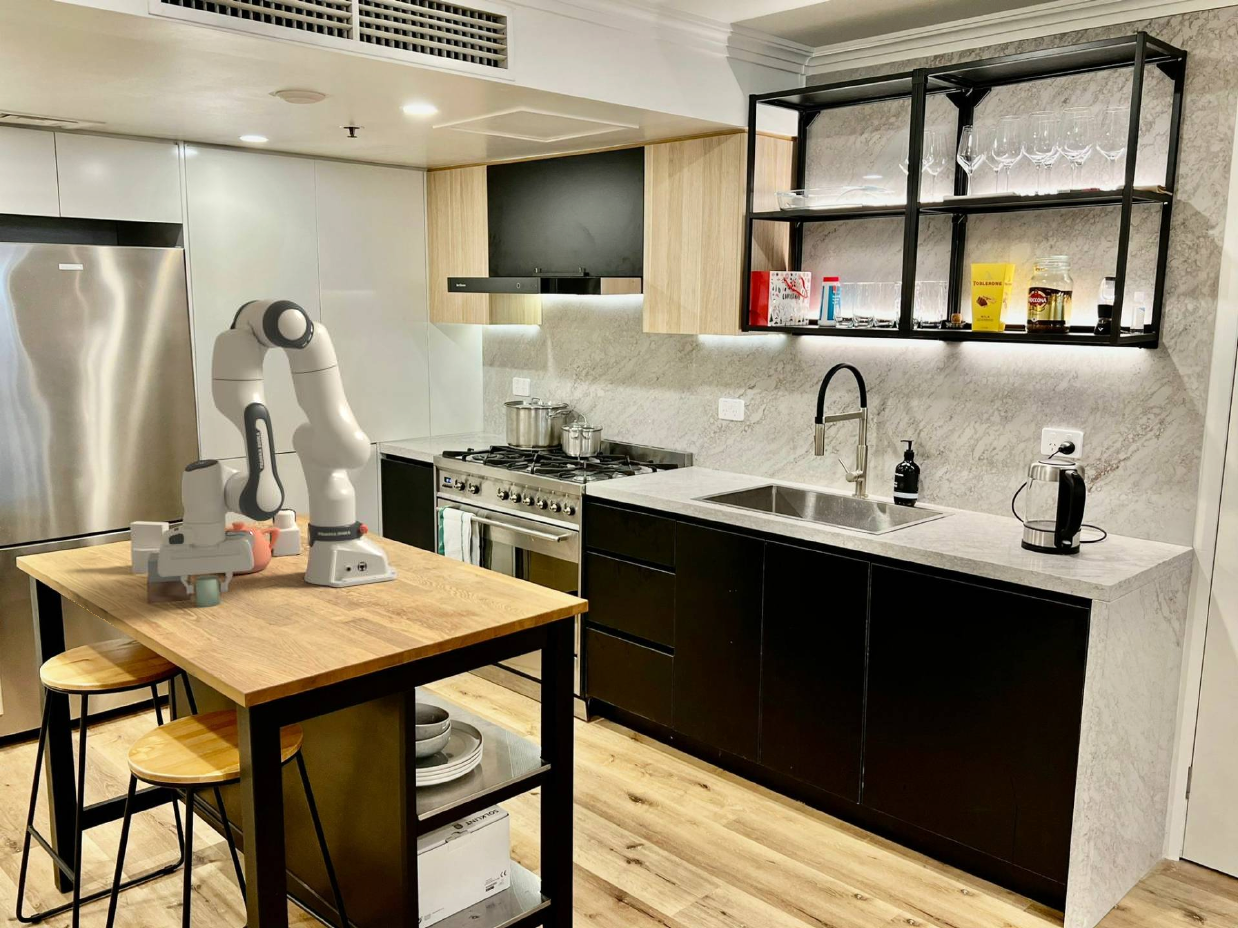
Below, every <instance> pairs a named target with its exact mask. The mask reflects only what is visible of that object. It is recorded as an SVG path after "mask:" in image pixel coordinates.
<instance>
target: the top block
mask: <svg viewBox="0 0 1238 928" xmlns="http://www.w3.org/2000/svg"><path fill="white" fill-rule="evenodd" d="M158 555H159V553H150V556H149V559H148V574H147V579H148V578H149V583H156V582H171V581H181V576H171V577H161V576H160V575H159V574H158ZM187 577H188V575H187Z"/></svg>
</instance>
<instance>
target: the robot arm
mask: <svg viewBox="0 0 1238 928" xmlns="http://www.w3.org/2000/svg"><path fill="white" fill-rule="evenodd" d="M275 348H282V350H283V351H284V353H285V355H286V356H287V359H288V364H289V370H290V374H291V380H292V384H293V389H294V392H295V396H296V401H297V404H298V407H299V408H300V409H301V410H302V411H303V413H304V414H305V415H306V417H307V419H308V421H306V422H302V423H301V424H300V425H299V426H298V427H297V428H296V429H295V431H294V432H293V434H292V440H291V441H292V443H291V444H292V447H293V449H294V451H295V453H296V454H297V456H298V458H299V460H300V464H301V467H302V472H303V476H304V478H305V483H306V487H307V493H308V511H309V512H308V514H309V515H308V516H309V522H308V523H307V529H306V530H307V544H308V546H309V548H308V551H309V552H308V559H307V566H306V570H305V575H304V577H303V579H304V581H306V582H307V583H309V584H313V585H320V586H328V587H332V588H343V587H350V586H357V585H365V584H372V583H379V582H385V581H394V580H396V579H397V578H398V570H397V568H395V566H393V565H391V564H389V560H388V557H387V553H386V552H385V550H384V548H383V547H381V545H379V544H377V543H375V542H374V541H373V540H371V539H370V538H368V537H367V536H366V534H367V533H368V532H369V527H368V526H367V525H366V524H364V523H362V522H361V521H358V520H357V517H356V515H357V513H356V510H357V509H356V491H355V488H354V486H353V484H352V483H351V481H350V479H349V476H348V473H347V471H352V470H357V469H359V468H361V467H363V466H364V465H365V464H366V463H367V462H368V460H369V458H370V456H371V452H372V444H371V441H370V438H369V437H368V436H367V434H366V433H365V432H364V431H363V429H362V428H361V427H360V426H359V423H358V421H357V419H356V417H355V415H354V412H353V411H352V409H351V406H350V404H349V403H348V400H347V397H346V393H345V390H344V385H343V381H342V377H341V376H342V375H341V372H340V368H339V363H338V359H337V354H336V350H335V347H334V345H333V341H332V339H331V336H330V334H329V331H328V330H327V328H326V327H325V326H324V324H322V323H320V322H317V321H314V320H311V319H310V317H309V315H308V313H307V312H306V311H305V310H304V308H303V307H302V306H300V305H299V304H297V303H295V302H293V301H291V300H288V299H287V300H285V299H283V300H282V299H277V298H276V299H274V298H266V299H263V300H260V299H257V300H251V301H248V302H246V303H244V304H242V305H241V306H240V307H239V308H238V309H237V310H236V313H235V314H234V318H233V321H232V324H231V325H230V326H229V329H227V330H224V331H222V332H220V333H219V334H218V335H217V336H216V338H215V340H214V345H213V351H212V356H211V357H212V358H211V373H210V374H211V393H212V394H211V395H212V398H213V402H214V406H215V408H216V409H217V411H218V412H219V413H220V414H222V415H223V416H224V417H225V418H227V419H228V420H229V421H230V422H231V423H232V424H233V425H234V426H235V427H236V429H237V430H238V431H239V432H240V434H241V437H242V439H243V444H244V451H245V461H246V470H247V471H243V470H240V469H236V468H232V467H230V466H227V465H225V464H224V463H221V462H220V461H219V460H217V459H213V458H212V459H211V458H210V459H209V458H208V459H199V460H196V461H194V462H191V463H189V464H188V465H187V466H185V468H184V470H183V472H182V478H181V501H182V505H183V508H184V512H183V513H184V514H183V518H182V524H181V525H177V526H175V527H173V528H169V530H166V531H165V532H164V533H163V535H162V541H163V544H162V545H161V547H160V550H159V555H158V574H159V575H160V576H161V577H171V576H181V581H182V583H183V584H184V585H185V587H187V594H191V595H194V594H195V591H194V589H195V588H194V584H191V585H189V583H188V582H187V579H188V577H187V575H190V576H194V575H210V574H211V575H212V574H223V573H224V572H226V574H225V577H226V578H225V580H224V581H223V582H220V592H221V593H222V592H228V591H229V587H228V586H229V583H230V581H231V579H232V578H233V574H232V572H237V571H249V570H251V569H252V568H253V567H254V560H253V554H252V548H253V546H254V535H253V534H252V533H251V532H247V530H241V531H226V528H227V524H226V515H227V514H228V513H234V514H238V515H241V516H245V517H247V518H250V520H253V521H257V522H266V521H270V520H271V519H273V517H274V516H275V515H276V514H277V513H278V512H279V511H280V509H283V508H282V507H283V505H284V502H285V489H284V487H283V484H282V481H281V479H280V476H279V472H278V467H277V460H276V459H277V458H276V452H275V451H276V448H275V441H274V440H275V439H274V433H273V432H274V431H273V425H272V419H271V416H270V413H269V409H268V407H267V403H266V397H265V387H264V368H263V367H264V366H263V365H264V360H265V358H266V357H265V356H266V354H267V352H268V351H269V349H275ZM247 533H248V534H247ZM226 535H227V538H226Z"/></svg>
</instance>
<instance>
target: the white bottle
mask: <svg viewBox="0 0 1238 928" xmlns="http://www.w3.org/2000/svg"><path fill="white" fill-rule="evenodd" d="M296 516H297V513H296V511H295V510H294V509H291V508H281V509H280V511H279V512H278V513H277V514H276V515H275V516H274V517H273V518H272V525H270V526H269V527H268V528H271V527H277V528H279V530H280V535H279V538H278V540H277V542H276V544H275V545H274V547H273V549H272V550H271V556H272V557H274V556H278V557H288V556H287V555H290V556H297V555H296V554H300V555H301V554H302V553H301V529H300V527H298V525H297V517H296ZM271 539H272V533H271V532H269V543H270V542H271Z"/></svg>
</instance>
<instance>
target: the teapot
mask: <svg viewBox="0 0 1238 928" xmlns="http://www.w3.org/2000/svg"><path fill="white" fill-rule="evenodd" d="M245 524H246V523H245V521H234V522H232V523H231V526H228V527H227V526H226V531H241V530H247V532H251V533H252V534H253V535H254V546H253V548H252V554H253V560H254V567H253V568H252V569H251V570H249V571H237V572H232V575H241V574H248V573H254V572H255V573H256V572H260V571H262V570H264V569H266V568H267V566H268V565H269V564H270V562H271V561H272V553H271V550H272V549H273V547H274V545H275V544H276V542H277V540H278V538H279V535H280V530H279V528H277V527H271V528H269V527H267V528H264V529H262V530H259V529H258V527H256V526H251V525H245ZM270 532H271V533H272V539H271V542H270V541H269V543H268V541H267V540H266V538H265V536H264V534H267V533H269V534H270ZM247 534H248V533H247ZM226 538H227V535H226ZM223 574H224V575H226V572H224V573H222V575H223Z"/></svg>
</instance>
